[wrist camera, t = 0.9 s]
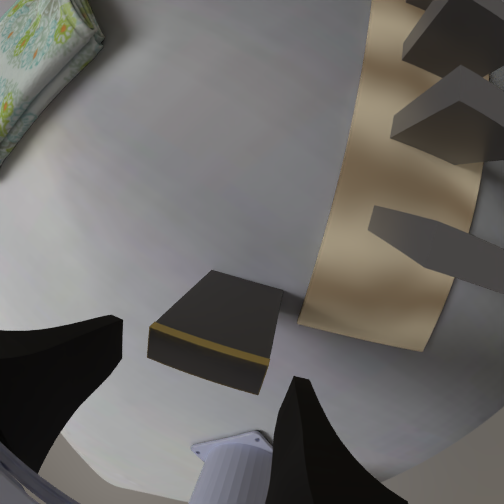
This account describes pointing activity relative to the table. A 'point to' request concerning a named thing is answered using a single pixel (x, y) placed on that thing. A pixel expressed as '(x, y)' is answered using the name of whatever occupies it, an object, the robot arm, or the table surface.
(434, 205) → the birch board
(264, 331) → the tile
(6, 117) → the towel
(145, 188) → the table surface
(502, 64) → the tile
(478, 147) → the tile
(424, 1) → the tile
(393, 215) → the tile
